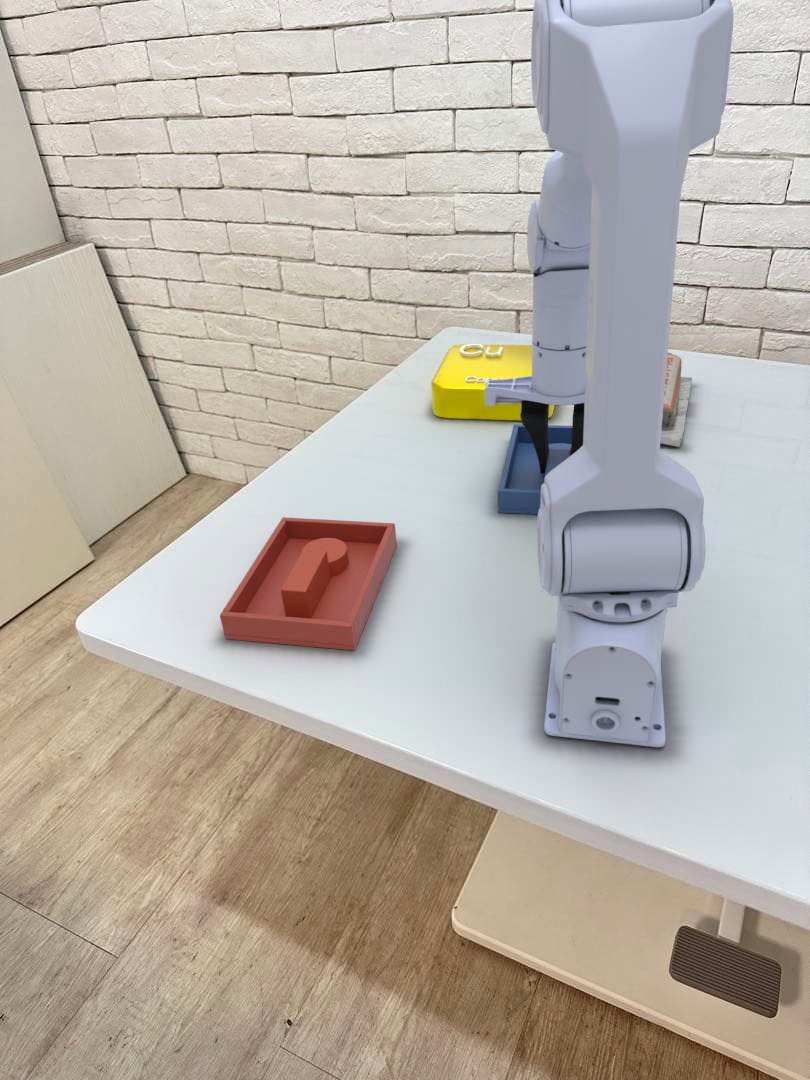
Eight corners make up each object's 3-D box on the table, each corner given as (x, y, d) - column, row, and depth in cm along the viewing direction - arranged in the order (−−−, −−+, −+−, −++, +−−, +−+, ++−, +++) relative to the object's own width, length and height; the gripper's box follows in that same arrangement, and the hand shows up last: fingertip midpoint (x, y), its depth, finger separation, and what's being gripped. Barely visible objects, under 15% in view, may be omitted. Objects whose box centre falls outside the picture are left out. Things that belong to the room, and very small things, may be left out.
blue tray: (613, 518, 77) (615, 496, 76) (497, 512, 79) (497, 491, 78) (613, 447, 89) (615, 426, 88) (513, 443, 92) (513, 424, 90)
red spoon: (321, 621, 66) (317, 592, 65) (274, 617, 67) (268, 588, 66) (354, 553, 74) (350, 526, 73) (311, 550, 75) (307, 523, 74)
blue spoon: (577, 504, 78) (578, 478, 76) (533, 502, 79) (534, 476, 77) (580, 456, 86) (582, 431, 84) (541, 455, 87) (541, 430, 85)
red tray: (354, 650, 64) (351, 626, 62) (225, 639, 66) (219, 615, 65) (397, 545, 76) (395, 523, 75) (286, 538, 78) (282, 517, 77)
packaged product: (614, 345, 102) (696, 349, 99) (611, 381, 105) (691, 386, 101) (591, 401, 88) (686, 409, 85) (589, 441, 91) (680, 449, 88)
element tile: (429, 418, 99) (427, 382, 96) (452, 373, 111) (450, 339, 108) (551, 423, 95) (552, 385, 93) (561, 375, 108) (562, 340, 105)
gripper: (643, 325, 75) (631, 453, 83) (490, 325, 78) (492, 449, 86) (645, 352, 70) (632, 487, 77) (480, 351, 73) (483, 481, 80)
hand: (558, 469), depth 81 cm, fingers closed on blue spoon, 2 cm apart
